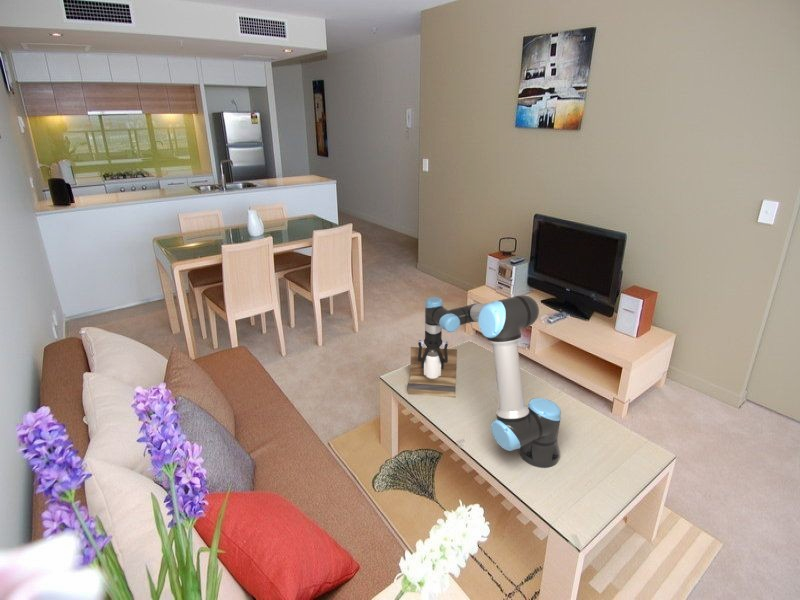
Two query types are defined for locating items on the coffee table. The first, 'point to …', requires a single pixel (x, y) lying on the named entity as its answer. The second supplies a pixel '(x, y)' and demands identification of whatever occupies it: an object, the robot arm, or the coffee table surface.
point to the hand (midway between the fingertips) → (432, 373)
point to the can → (432, 365)
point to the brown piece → (433, 387)
